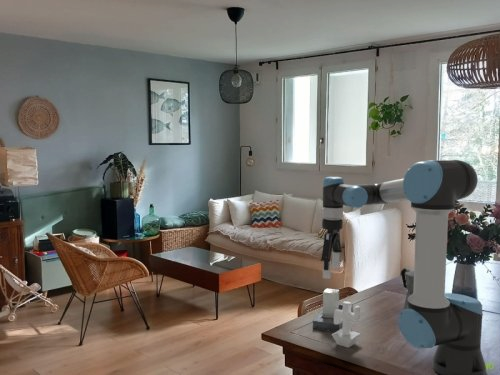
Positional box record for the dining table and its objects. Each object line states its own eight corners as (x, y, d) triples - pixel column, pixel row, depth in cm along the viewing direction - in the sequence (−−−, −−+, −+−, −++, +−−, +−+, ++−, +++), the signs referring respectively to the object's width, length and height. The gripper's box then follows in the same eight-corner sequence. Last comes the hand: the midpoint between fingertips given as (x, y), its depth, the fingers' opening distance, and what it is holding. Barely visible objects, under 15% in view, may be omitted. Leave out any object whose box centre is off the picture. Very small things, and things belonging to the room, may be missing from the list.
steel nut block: (335, 327, 187) (336, 293, 186) (322, 325, 189) (323, 292, 188) (338, 322, 191) (339, 289, 190) (325, 320, 193) (326, 288, 192)
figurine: (339, 337, 178) (339, 296, 176) (363, 344, 172) (364, 302, 170) (328, 343, 172) (329, 301, 170) (353, 351, 166) (354, 307, 165)
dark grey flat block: (339, 332, 182) (339, 324, 181) (312, 328, 186) (312, 320, 185) (352, 311, 204) (353, 304, 203) (329, 308, 208) (329, 301, 207)
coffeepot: (436, 312, 203) (437, 269, 201) (418, 316, 199) (420, 272, 197) (408, 301, 217) (410, 260, 215) (392, 304, 212) (393, 263, 211)
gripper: (330, 212, 199) (329, 264, 201) (313, 222, 176) (312, 281, 178) (349, 213, 196) (348, 266, 198) (334, 224, 173) (332, 283, 175)
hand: (331, 273), depth 188 cm, fingers open, 13 cm apart
